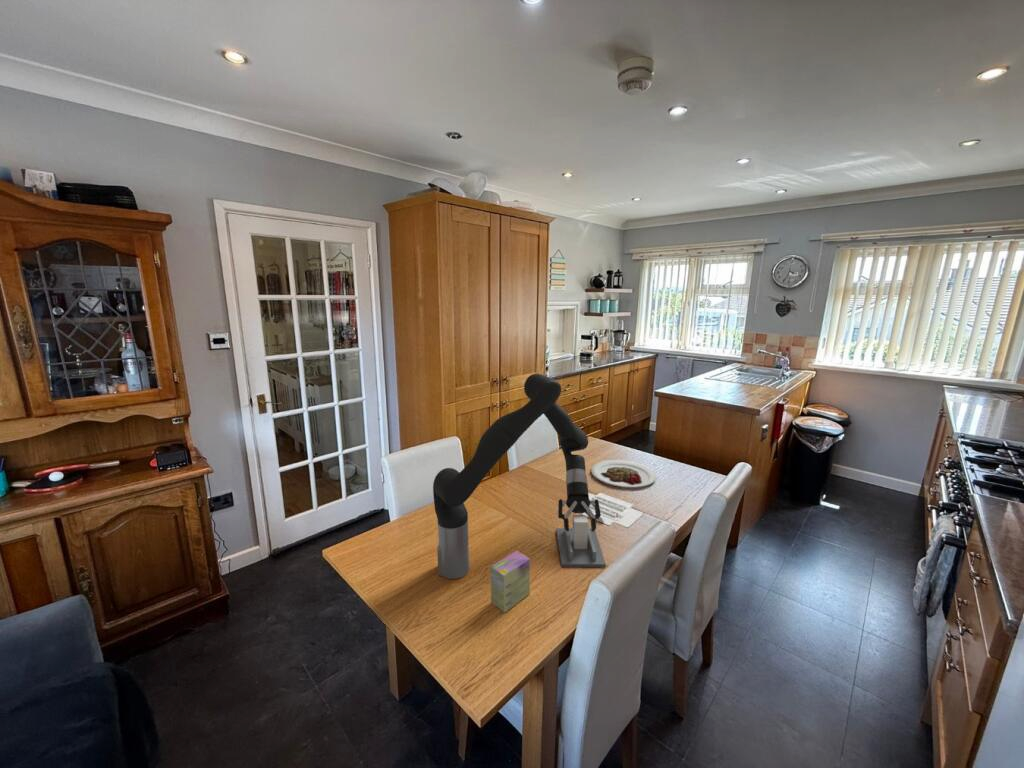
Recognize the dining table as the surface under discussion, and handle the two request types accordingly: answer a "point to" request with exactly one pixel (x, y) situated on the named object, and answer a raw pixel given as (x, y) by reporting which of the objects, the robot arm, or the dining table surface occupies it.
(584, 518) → the block
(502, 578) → the box
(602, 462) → the plated food
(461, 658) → the dining table surface
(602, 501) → the tray
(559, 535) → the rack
